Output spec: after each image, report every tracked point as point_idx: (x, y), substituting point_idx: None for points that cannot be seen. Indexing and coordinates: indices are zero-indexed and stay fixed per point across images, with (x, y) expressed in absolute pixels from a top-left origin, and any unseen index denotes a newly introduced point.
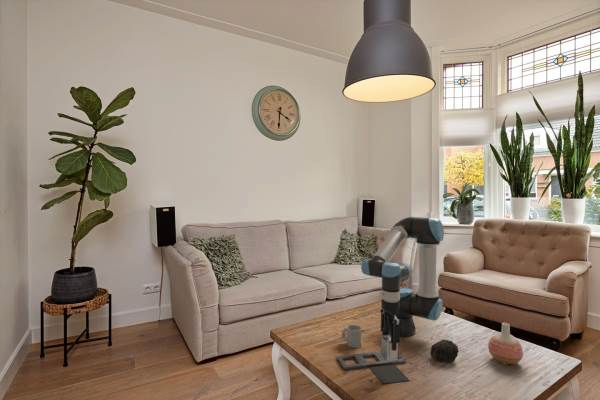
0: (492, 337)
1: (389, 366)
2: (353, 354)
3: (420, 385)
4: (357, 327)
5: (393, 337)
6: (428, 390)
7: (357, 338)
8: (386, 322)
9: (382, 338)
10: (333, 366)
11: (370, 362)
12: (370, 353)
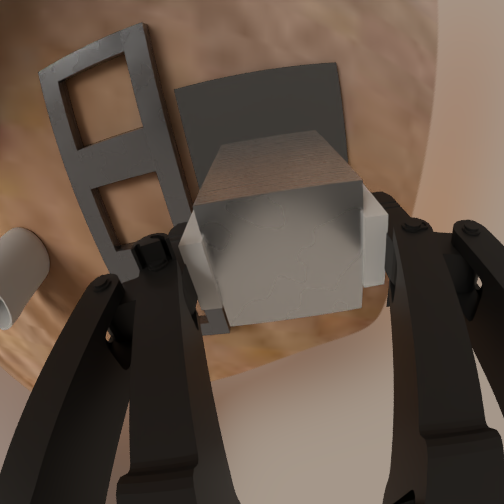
0: None
1: (194, 126)
2: None
3: (374, 29)
4: None
5: (471, 327)
6: (412, 18)
7: (22, 271)
8: (230, 485)
9: (251, 319)
10: (205, 347)
11: (175, 225)
12: (88, 207)
